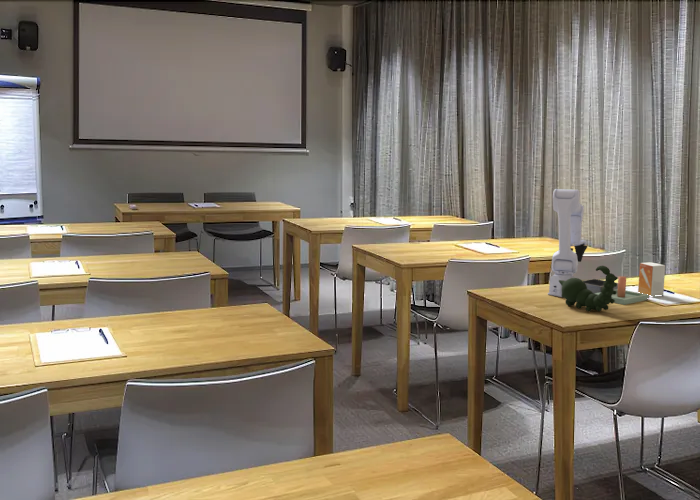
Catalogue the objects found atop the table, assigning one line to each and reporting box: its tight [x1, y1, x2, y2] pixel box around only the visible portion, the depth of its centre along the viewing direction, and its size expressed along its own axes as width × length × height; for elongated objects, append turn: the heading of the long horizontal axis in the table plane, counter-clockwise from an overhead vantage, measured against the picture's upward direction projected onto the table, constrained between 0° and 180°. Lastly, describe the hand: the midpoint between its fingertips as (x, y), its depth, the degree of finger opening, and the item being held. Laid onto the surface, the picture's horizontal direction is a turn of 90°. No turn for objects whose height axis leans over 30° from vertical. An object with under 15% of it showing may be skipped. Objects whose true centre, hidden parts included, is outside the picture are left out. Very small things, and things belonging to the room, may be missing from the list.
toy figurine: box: [559, 265, 618, 312], centre depth 275 cm, size 9×19×25 cm
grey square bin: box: [582, 278, 618, 294], centre depth 309 cm, size 13×13×4 cm
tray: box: [595, 289, 650, 306], centre depth 293 cm, size 16×14×2 cm
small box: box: [637, 261, 666, 296], centre depth 300 cm, size 8×6×13 cm
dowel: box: [617, 275, 627, 297], centre depth 292 cm, size 3×3×8 cm
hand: (573, 262), depth 318 cm, fingers open, 7 cm apart
